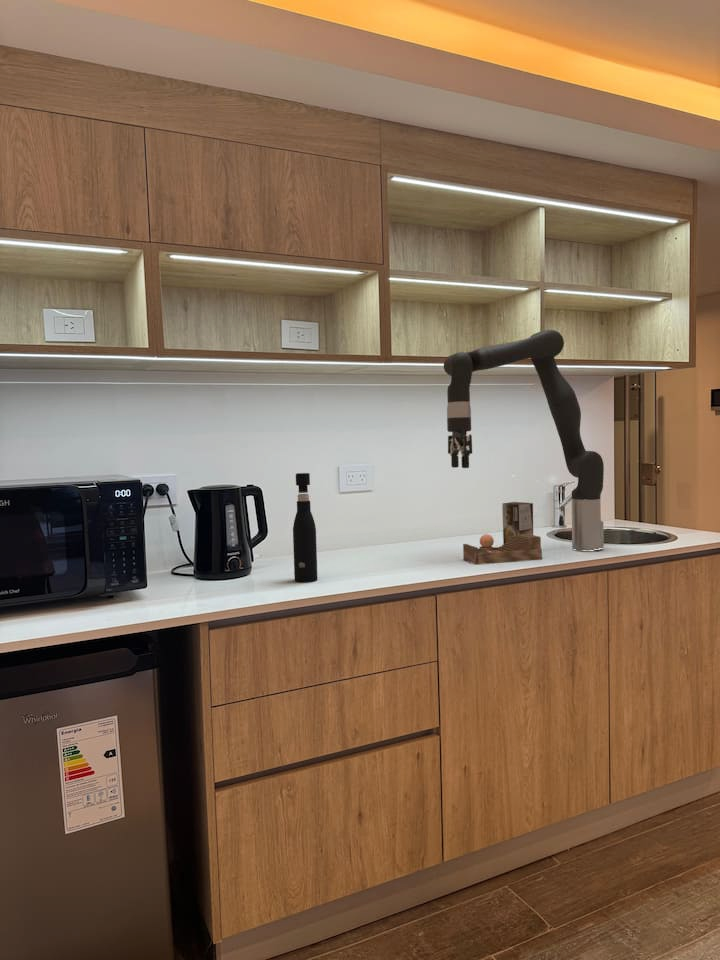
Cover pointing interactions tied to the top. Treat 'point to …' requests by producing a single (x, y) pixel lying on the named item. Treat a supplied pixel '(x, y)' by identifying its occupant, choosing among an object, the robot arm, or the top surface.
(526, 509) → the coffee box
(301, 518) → the black bottle
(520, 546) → the lane
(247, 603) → the top surface
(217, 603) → the top surface
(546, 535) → the top surface
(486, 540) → the ball
